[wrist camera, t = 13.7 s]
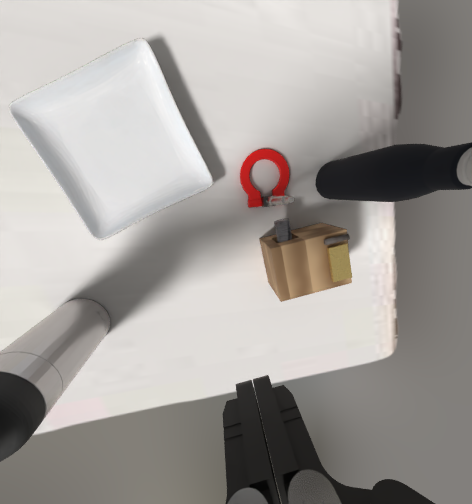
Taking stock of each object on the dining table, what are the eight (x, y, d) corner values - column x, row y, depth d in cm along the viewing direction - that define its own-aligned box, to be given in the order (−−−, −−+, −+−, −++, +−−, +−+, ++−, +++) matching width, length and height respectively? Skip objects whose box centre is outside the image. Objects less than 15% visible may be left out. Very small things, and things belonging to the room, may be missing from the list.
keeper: (331, 281, 36) (333, 282, 35) (326, 247, 34) (328, 248, 34) (349, 276, 36) (352, 277, 35) (345, 243, 35) (347, 243, 34)
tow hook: (237, 152, 38) (242, 208, 40) (250, 126, 25) (258, 210, 27) (285, 148, 38) (289, 203, 40) (322, 120, 26) (324, 202, 28)
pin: (301, 283, 43) (311, 293, 38) (277, 289, 42) (285, 300, 38) (290, 215, 39) (300, 218, 35) (264, 222, 39) (271, 225, 35)
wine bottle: (331, 206, 41) (611, 236, 12) (308, 182, 40) (567, 152, 11) (356, 179, 41) (716, 144, 12) (333, 153, 39) (685, 39, 10)
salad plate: (21, 113, 33) (0, 104, 30) (150, 47, 33) (143, 31, 29) (105, 239, 39) (95, 244, 36) (216, 185, 39) (216, 184, 35)
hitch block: (268, 282, 44) (282, 304, 35) (259, 238, 41) (272, 250, 33) (327, 267, 44) (355, 284, 36) (321, 222, 42) (350, 230, 33)
